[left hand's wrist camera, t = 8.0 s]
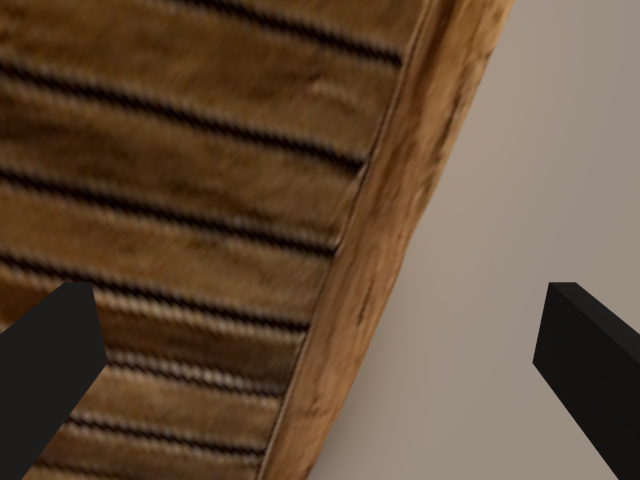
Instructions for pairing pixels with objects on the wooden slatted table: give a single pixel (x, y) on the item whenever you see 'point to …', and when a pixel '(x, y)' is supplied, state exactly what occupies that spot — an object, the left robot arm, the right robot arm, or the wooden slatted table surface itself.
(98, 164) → the wooden slatted table surface
